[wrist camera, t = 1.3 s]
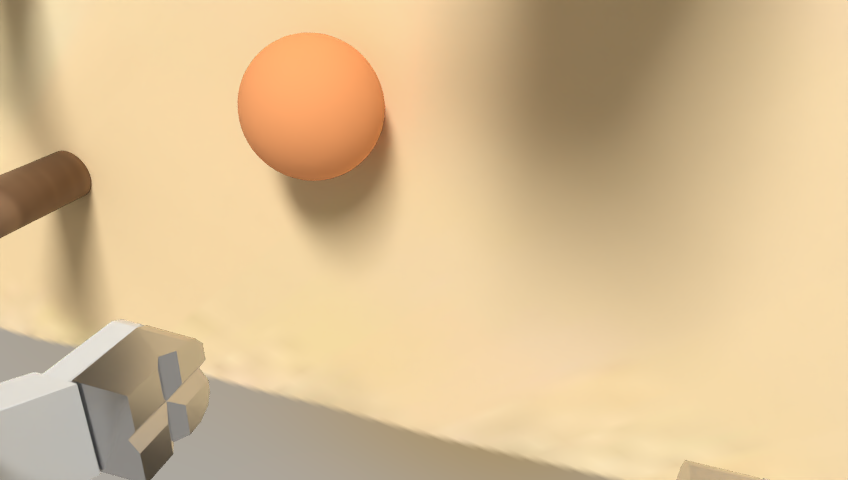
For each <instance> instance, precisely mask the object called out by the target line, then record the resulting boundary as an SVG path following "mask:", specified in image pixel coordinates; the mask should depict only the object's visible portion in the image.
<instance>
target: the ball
mask: <svg viewBox="0 0 848 480" xmlns="http://www.w3.org/2000/svg"><path fill="white" fill-rule="evenodd" d="M384 112H385V105H384V96H383V91H382V88H381V85H380V82H379V80H378V77H377V75H376V73H375V72H374V70H373V68H372V67H371V65H370V64H369V63H368V61H367V60H366V59H365V58H364V57H363V56H362V55H361V54H360V53H359V52H358V51H357V50H356V49H355V48H353V47H352V46H350V45H349V44H347V43H345V42H343V41H341V40H339V39H337V38H335V37H332V36H328V35H324V34H319V33H299V34H293V35H289V36H286V37H283V38H281V39H279V40H277V41H275V42H273V43H271V44H269V45H268V46H267V47H265V48H264V49H263V50H262V51H261V52H260V53H259V54H258V55H257V56H256V57H255V58H254V59H253V60H252V62H251V63H250V65H249V66H248V68H247V70H246V71H245V73H244V75H243V78H242V81H241V84H240V88H239V93H238V114H239V121H240V124H241V128H242V131H243V133H244V136H245V138H246V139H247V141H248V143H249V145H250V146H251V148H252V149H253V150H254V152H255V153H256V154H257V155H258V156H259V157H260V158H261V159H262V160H263V161H264V162H265V163H266V164H267V165H269V166H270V167H272V168H273V169H275V170H276V171H278V172H280V173H282V174H284V175H287V176H290V177H292V178H297V179H301V180H310V181H315V180H326V179H331V178H334V177H337V176H340V175H343V174H345V173H347V172H349V171H350V170H352V169H353V168H355V167H356V166H358V165H359V164H360V163H361V162H362V161H363V160H364V159H365V158H366V157H367V156H368V155H369V154H370V152H371V151H372V149H373V148H374V146H375V144H376V142H377V141H378V138H379V136H380V133H381V131H382V127H383V122H384Z"/></svg>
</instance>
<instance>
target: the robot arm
mask: <svg viewBox="0 0 848 480" xmlns="http://www.w3.org/2000/svg"><path fill="white" fill-rule="evenodd" d="M204 361H205V354H204V348H203V343H201V342H200V341H198V340H197V339H195V338H191V337H187V336H184V335H180V334H176V333H173V332H169V331H166V330H162V329H158V328H155V327H151V326H148V325H146V326H145V325H141V324H138V323H134V322H131V321H127V320H124V319H120V320H115V321H111V322H110V323H109V324H108V325H106V326H105V327H104V328H102V329H101V330H100V331H98V332H97V333H96V334H94V335H93V336H92V337H90V338H89V339H88V340H86V341H85V342H84V343H82V344H81V345H80V346H79V347H77V348H76V349H75V350H73V351H72V352H71V353H69V354H68V355H67V356H65V357H64V358H63V359H61V360H60V361H59V362H57V363H56V364H55V365H54V366H52V367H51V368H50V369H48V370H47V371H46V372H44V373H43V374H40V373H37V372H33V373H30V374H27V375H23V376H20V377H17V378H14V379H11V380H7V381H4V382H1V383H0V480H91V479H93V478H95V477H97V476H98V475H100V474H101V473H100V471H101V472H105V473H108V474H112V475H115V476H119V477H122V478H126V479H129V480H151V479H152V478H153V477H154V475H155V474H156V473H157V472H158V471H159V470H160V469H161V467H162V466H163V465H164V464H165V463H166V462H167V461H168V460H169V458H170V457H171V456H172V455H173V446H174V442H175V441H177V440H179V439H181V438H183V437H186V436H188V435H190V434H191V433H192V432H193V431H194V429H195V428H196V427H197V426H198V425H199V423H200V422H201V420H202V418H203V416H204V413H205V411H206V409H207V407H208V403H209V395H210V389H209V382H208V381H209V380H208V379H207V378H206V376H205V375H204V374H203V372H202V371H201V370H200V368H199V367H200V366H201V364H202V363H203V362H204ZM677 480H768V479H764V478H763V479H760V478H758V477H754V476H750V475H745V474H741V473H737V472H733V471H729V470H725V469H720V468H716V467H712V466H708V465H704V464H700V463H695V462H691V461H687V460H685V461H684V463H683V464H682V466H681V468H680V471H679V474H678V477H677Z"/></svg>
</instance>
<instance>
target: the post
mask: <svg viewBox="0 0 848 480" xmlns="http://www.w3.org/2000/svg"><path fill="white" fill-rule="evenodd" d="M90 187H91V179H90V175H89V172H88V170H87V168H86V167H85V165H84V164H83V162H82V161H81V160H80V159H79V158H78V157H76V156H75V155H73V154H72V153H69V152H66V151H58V152H55V153H53V154H51V155H48V156H46V157H43V158H41V159H38V160H36V161H34V162H31V163H29V164H26V165H24V166H21V167H19V168H17V169H14V170H12V171H9V172H7V173H4V174H2V175H0V238H1V237H3V236H5V235H7V234H9V233H11V232H13V231H15V230H17V229H19V228H21V227H23V226H25V225H27V224H29V223H31V222H33V221H35V220H37V219H39V218H41V217H43V216H45V215H47V214H49V213H51V212H53V211H55V210H57V209H59V208H61V207H63V206H65V205H67V204H69V203H71V202H73V201H74V200H76V199H78V198H80V197H82V196H84V195H86V194H87V193H88V192H89V190H90Z"/></svg>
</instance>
